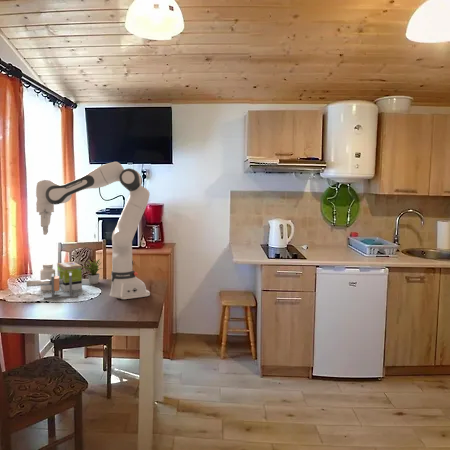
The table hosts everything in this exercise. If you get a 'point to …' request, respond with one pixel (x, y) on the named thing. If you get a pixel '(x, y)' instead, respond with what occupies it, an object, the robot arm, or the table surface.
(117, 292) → the robot arm
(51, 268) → the pill bottle
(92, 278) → the house plant
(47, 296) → the grey post stand
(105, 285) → the table surface
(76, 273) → the tea box
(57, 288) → the spacer
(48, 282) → the shaft
